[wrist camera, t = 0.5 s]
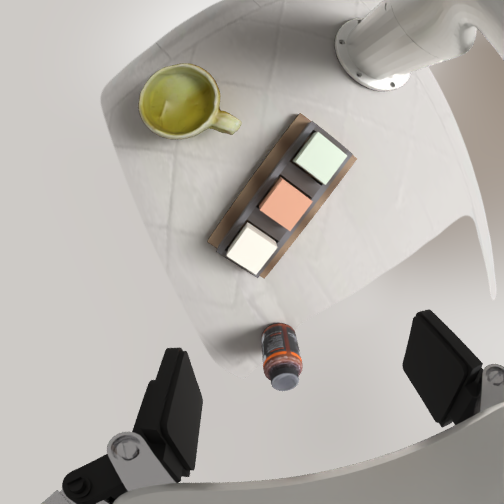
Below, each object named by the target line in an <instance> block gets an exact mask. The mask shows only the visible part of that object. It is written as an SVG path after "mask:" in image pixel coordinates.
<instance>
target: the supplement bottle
mask: <svg viewBox="0 0 504 504" xmlns="http://www.w3.org/2000/svg"><path fill="white" fill-rule="evenodd" d="M262 353H263V369H264V373H265V376H266V377H267V378H268V379H269V380H271V384H272V387H273V388H275V389H276V390H279V391H287V390H290V389H293V388H294V387H296V386H297V384H298V382H299V378H298V376H299V375H300V373H301V371H302V360H301V356H300V352H299V347H298V343H297V339H296V334H295V331H294V330H293V328H292V327H290V326H289V325H286V324H281V323H278V324H273V325H271V326H269V327H267V328H266V329H265V330H264V332H263V334H262Z"/></svg>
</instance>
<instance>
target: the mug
mask: <svg viewBox="0 0 504 504" xmlns="http://www.w3.org/2000/svg"><path fill="white" fill-rule="evenodd" d="M219 105H220V91H219V88H218V86H217V83H216V81H215V80H214V78H213V77H212V76H211V75H210V74H209V73H208V72H207V71H206V70H204V69H203V68H201V67H199V66H196V65H193V64H184V63H182V64H177V65H173V66H169V67H164V68H162V69H160V70H159V71H157V72H156V73H154V74H153V75H152V76H151V77H150V78H149V79H148V81H147V82H146V83H145V85H144V87H143V89H142V91H141V93H140V97H139V103H138V108H139V113H140V116H141V119H142V121H143V122H144V123H145V125H146V126H147V127H148V128H149V129H150V130H151V131H152V132H154V133H155V134H157V135H159V136H161V137H164V138H167V139H185V138H189V137H193V136H196V135H198V134H199V133H201V132H203V131H204V130H206V129H208V128H210V129H214V130H217V131H219V132H222V133H227V134H230V135H232V134H234V133H235V132H236V131H237V130H238V129H239V128H240V126H241V124H242V123H241V121H240V120H239V119H237V118H236V117H234V116H233V115H231V114H229V113H227V112H225V111H221V110H220V106H219Z"/></svg>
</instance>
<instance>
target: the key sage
mask: <svg viewBox="0 0 504 504" xmlns="http://www.w3.org/2000/svg"><path fill="white" fill-rule="evenodd" d="M346 157H347V155H346V154H345V153H344V152H342V151H341V150H340V149H339V148H338V147H336V146H335V145H334V144H333V143H332V142H330V141H329V140H328V139H327V138H325V137H324V136H323V135H322V134H320V133H319V132H315V133H313V134H312V136H311V137H310V138H309V140H308V141H307V142H306V144H305V145H304V146H303V148H302V149H301V150H300V152H299V153H298V154H297V156H296V157H295V158H294V160H293V162H295V163H296V164H297V165H299V166H300V167H301V168H303V169H304V170H305V171H307V172H308V173H309V174H311V175H312V176H313V177H314V178H316V179H317V180H318V181H320V182H321V183H323V184H325V185H326V184H327V182H328V181H329V180H330V179H331V177H332V176H333V175H334V173H335V172H336V171H337V169H338V168H339V167H340V165H341V164H342V163H343V161H344V160H345V159H346Z"/></svg>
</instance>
